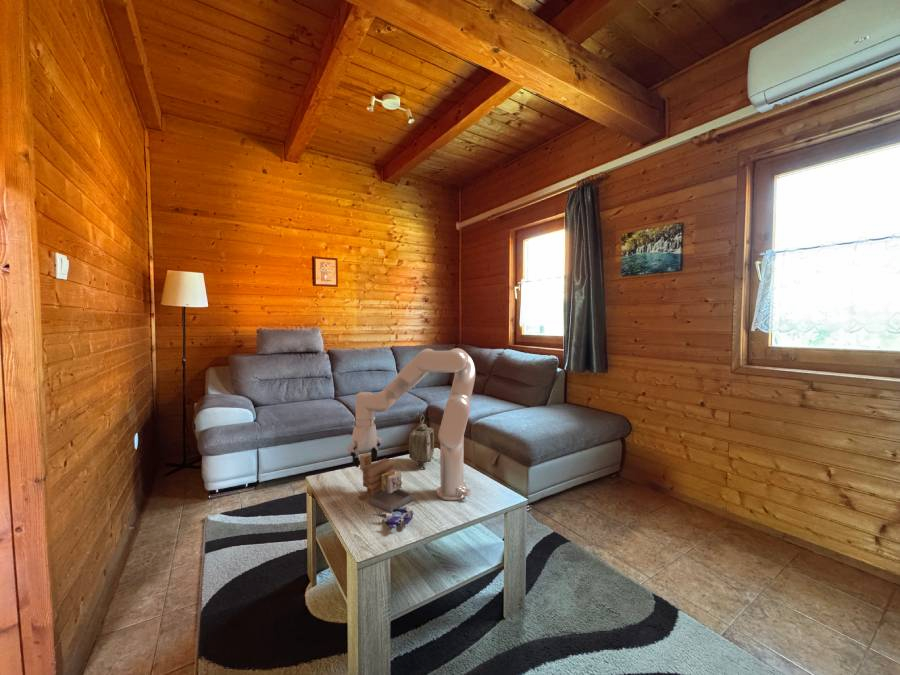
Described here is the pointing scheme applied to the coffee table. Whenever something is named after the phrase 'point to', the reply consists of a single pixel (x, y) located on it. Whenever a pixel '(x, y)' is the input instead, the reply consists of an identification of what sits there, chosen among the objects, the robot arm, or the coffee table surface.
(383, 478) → the bar
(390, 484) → the square wooden ring
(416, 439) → the old lantern
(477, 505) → the coffee table surface
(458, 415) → the robot arm
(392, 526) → the toy airplane
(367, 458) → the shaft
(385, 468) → the bearing block
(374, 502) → the tray
